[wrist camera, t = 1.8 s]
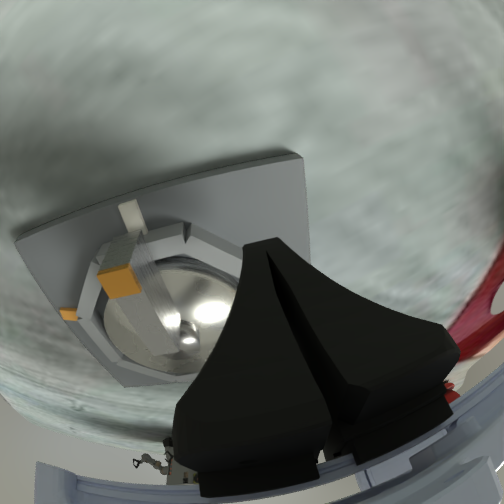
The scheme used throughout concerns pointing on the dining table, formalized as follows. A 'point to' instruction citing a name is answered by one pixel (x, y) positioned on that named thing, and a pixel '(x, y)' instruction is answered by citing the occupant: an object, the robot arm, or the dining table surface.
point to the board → (166, 242)
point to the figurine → (171, 467)
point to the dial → (163, 305)
